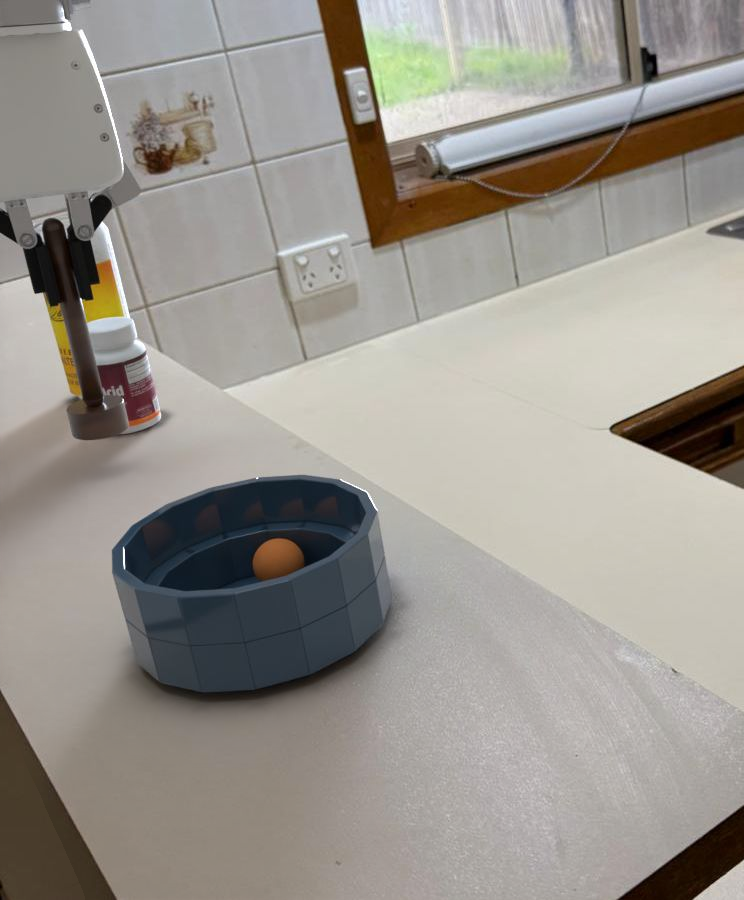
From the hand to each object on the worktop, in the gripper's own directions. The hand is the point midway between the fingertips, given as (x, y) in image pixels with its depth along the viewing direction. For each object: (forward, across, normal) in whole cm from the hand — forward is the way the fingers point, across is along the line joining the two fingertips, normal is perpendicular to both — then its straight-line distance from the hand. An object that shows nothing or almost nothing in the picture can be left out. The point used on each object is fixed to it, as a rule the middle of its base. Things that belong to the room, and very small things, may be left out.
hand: (69, 297), depth 78 cm
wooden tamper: (+10, 0, 0) cm, 10 cm away
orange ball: (+11, -6, +25) cm, 28 cm away
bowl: (+13, -4, +28) cm, 32 cm away
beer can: (+13, -2, -19) cm, 23 cm away
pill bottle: (+13, -3, -9) cm, 16 cm away
